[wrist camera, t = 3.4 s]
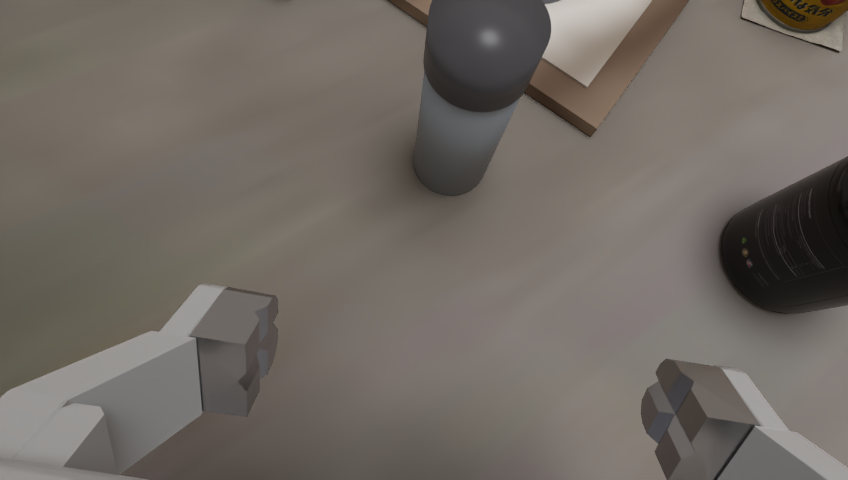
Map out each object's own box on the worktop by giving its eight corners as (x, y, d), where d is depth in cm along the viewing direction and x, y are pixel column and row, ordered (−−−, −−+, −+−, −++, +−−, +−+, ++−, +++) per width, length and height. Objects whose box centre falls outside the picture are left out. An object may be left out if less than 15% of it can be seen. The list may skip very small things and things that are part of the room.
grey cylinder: (396, 167, 29) (403, 27, 17) (441, 114, 30) (475, -49, 19) (458, 211, 28) (507, 97, 17) (501, 156, 30) (573, 15, 18)
